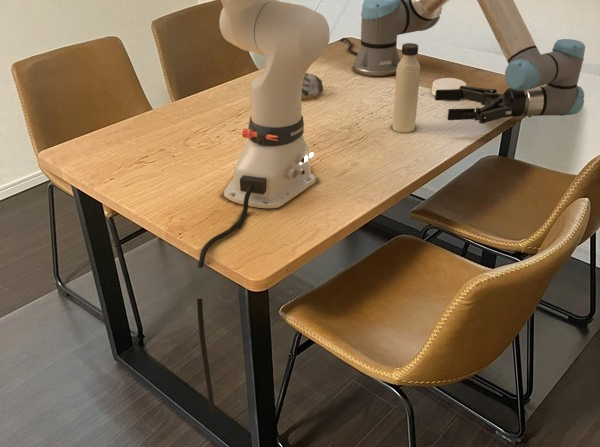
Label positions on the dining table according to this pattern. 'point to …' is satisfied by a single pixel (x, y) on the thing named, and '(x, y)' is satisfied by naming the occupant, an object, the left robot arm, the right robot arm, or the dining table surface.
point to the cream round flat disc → (447, 84)
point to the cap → (410, 49)
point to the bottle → (406, 94)
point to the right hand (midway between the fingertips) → (441, 104)
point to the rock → (311, 86)
